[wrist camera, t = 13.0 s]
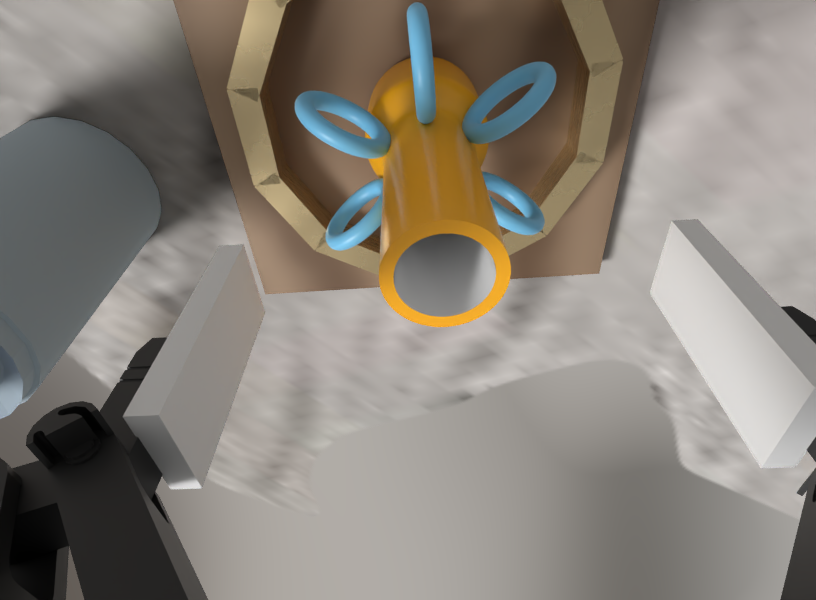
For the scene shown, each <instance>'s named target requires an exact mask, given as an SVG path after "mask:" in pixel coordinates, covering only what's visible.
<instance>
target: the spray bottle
mask: <svg viewBox="0 0 816 600" xmlns="http://www.w3.org/2000/svg"><path fill="white" fill-rule="evenodd" d="M161 211H162V210H161V203H160V197H159V190H158V188H157V186H156V184H155V182H154V180H153V178H152V176H151V174H150V172H149V170H148V169H147V168H146V167H145V165H144V164H143V163H142V162H141V161H140V160H139V158H138V157H137V156H136V155H135V154H134V153H133V152H132V150H131V149H129V148H128V147H127V146H125V145H124V144H123V143H121V142H120V141H118V140H117V139H116V138H114V137H113V136H112V135H110V134H109V133H108V132H105V131H103V130H101V129H98V128H96V127H94V126H92V125H89V124H87V123H85V122H82V121H78V120H72V119H66V118H60V117H48V118H42V119H35V120H30V121H29V122H27V123H25V124H24V125H22V126H20V127H18V128H17V129H15V130H13V131H12V132H10V133H8V134H6V135H5V136H3V137H1V138H0V419H1V418H3V417H6V416H8V415H10V414H11V413H12V412H13V410H14V409H15V408H16V407H17V406H18V405H19V404H21V403H24V402H26V401H27V400H28V399H29V398H30V397H31V395H32V394H33V393H34V392H35V391H36V389H37V388H38V387H39V386H40V384H41V383H42V382H43V380H44V379H45V378H46V376H47V375H48V373H49V372H50V371H51V370H52V368H53V367H54V366H55V364H56V363H57V362H58V360H59V359H60V358H61V356H62V355H63V354H64V352H65V351H66V350H67V348H68V347H69V346H70V344H71V343H72V342H73V340H74V339H75V337H76V336H77V335H78V333H79V332H80V331H81V329H82V328H83V327H84V325H85V324H86V323H87V321H88V320H89V319H90V317H91V316H92V315H93V313H94V312H95V311H96V309H97V308H98V307H99V305H100V304H101V302H102V301H103V300H104V298H105V297H106V296H107V294H108V293H109V292H110V290H111V289H112V288H113V286H114V285H115V284H116V282H117V281H118V280H119V278H120V277H121V276H122V274H123V273H124V272H125V270H126V269H127V268H128V266H129V265H130V263H131V262H132V261H133V259H134V258H135V257H136V255H137V254H138V253H139V251H140V250H141V249H142V247H143V246H144V245H145V243H146V242H147V241H148V239H149V238H150V237H151V235H152V234H153V233H154V231H155V230H156V228H157V227H158V223H159V219H160V215H161Z"/></svg>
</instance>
